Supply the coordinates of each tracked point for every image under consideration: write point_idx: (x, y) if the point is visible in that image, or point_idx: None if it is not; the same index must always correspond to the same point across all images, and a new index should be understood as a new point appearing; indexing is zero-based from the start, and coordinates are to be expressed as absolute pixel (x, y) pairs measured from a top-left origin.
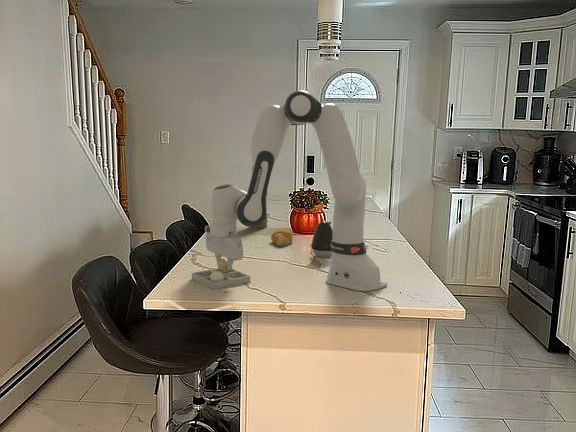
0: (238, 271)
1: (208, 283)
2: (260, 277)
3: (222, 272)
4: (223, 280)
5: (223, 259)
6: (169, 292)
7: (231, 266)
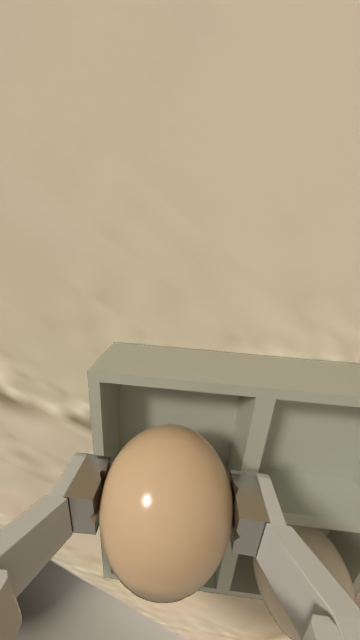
0: (273, 395)
1: None
2: (338, 194)
3: (116, 399)
4: (327, 537)
5: (164, 601)
6: (200, 614)
7: (277, 507)
